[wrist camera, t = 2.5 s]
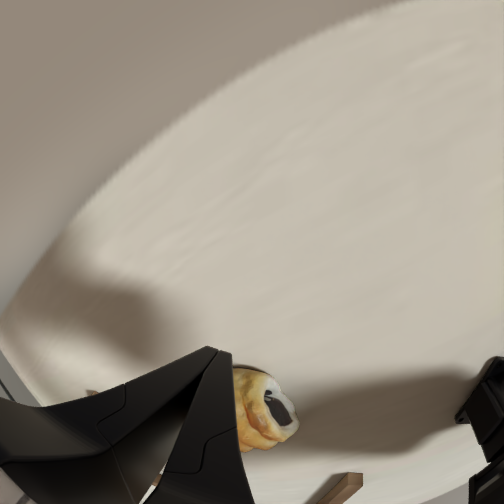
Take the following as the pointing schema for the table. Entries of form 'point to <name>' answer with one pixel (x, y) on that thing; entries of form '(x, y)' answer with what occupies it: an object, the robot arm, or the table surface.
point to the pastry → (261, 410)
